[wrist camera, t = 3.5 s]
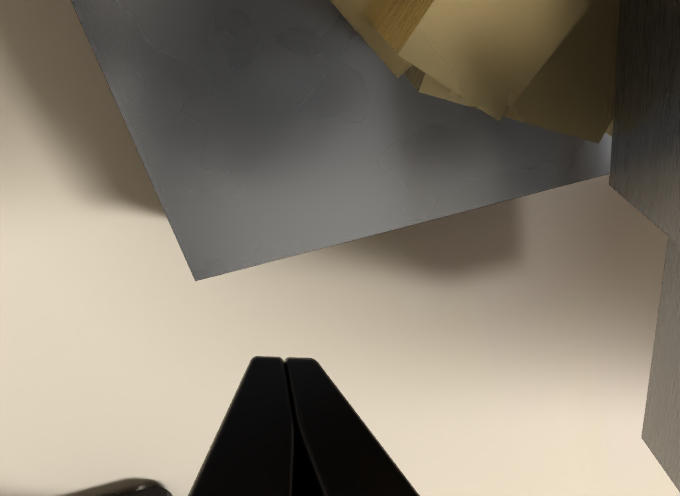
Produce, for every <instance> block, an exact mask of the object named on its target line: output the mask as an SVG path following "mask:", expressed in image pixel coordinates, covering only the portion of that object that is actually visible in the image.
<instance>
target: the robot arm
mask: <svg viewBox="0 0 680 496" xmlns="http://www.w3.org/2000/svg"><path fill="white" fill-rule="evenodd" d="M119 496H172V494H171V493H170V492H169V491H168V490H166V489H163V488H159V487H152V488H146V489H142V490H138V491H134V492H131V493H127V494H123V495H119ZM188 496H419V494H418V493H417V492H416V490H415V489H414V488H413V486H412V485H411V484H410V482H409V481H408V480H407V479H406V477H405V476H404V475H403V473H402V472H401V471H400V469H399V468H398V467H397V465H396V464H395V463H394V461H393V460H392V459H391V458H390V456H389V455H388V454H387V452H386V451H385V450H384V448H383V447H382V446H381V444H380V443H379V442H378V440H377V439H376V438H375V437H374V435H373V434H372V433H371V431H370V430H369V429H368V427H367V426H366V425H365V423H364V422H363V421H362V419H361V418H360V417H359V416H358V414H357V413H356V412H355V410H354V409H353V408H352V406H351V405H350V404H349V402H348V401H347V400H346V398H345V397H344V396H343V395H342V393H341V392H340V391H339V389H338V388H337V387H336V385H335V384H334V383H333V381H332V380H331V379H330V377H329V376H328V375H327V374H326V372H325V371H324V370H323V368H322V367H321V366H320V364H319V363H318V362H317V361H316V360H315V359H312V358H296V357H289V358H287V359H285V360H284V361H283V359H282V358H280V357H266V356H255V357H253V358H252V359H251V361H250V363H249V365H248V367H247V370H246V372H245V374H244V376H243V378H242V380H241V382H240V385H239V387H238V389H237V391H236V393H235V395H234V398H233V400H232V402H231V404H230V406H229V408H228V411H227V413H226V415H225V417H224V419H223V421H222V423H221V426H220V428H219V430H218V432H217V434H216V436H215V439H214V441H213V443H212V445H211V447H210V449H209V452H208V454H207V456H206V458H205V460H204V462H203V464H202V467H201V469H200V471H199V473H198V475H197V477H196V480H195V482H194V484H193V486H192V488H191V490H190V493H189V495H188Z"/></svg>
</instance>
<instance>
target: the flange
mask: <svg viewBox="0 0 680 496" xmlns="http://www.w3.org/2000/svg"><path fill="white" fill-rule="evenodd" d="M71 2H72V4H73V6H74V8H75V11H76V13H77V15H78V17H79V20H80V22H81V24H82V26H83V29H84V31H85V33H86V35H87V38H88V40H89V42H90V45H91V47H92V49H93V51H94V54H95V56H96V58H97V60H98V63H99V65H100V67H101V69H102V72H103V74H104V76H105V78H106V81H107V83H108V85H109V87H110V90H111V92H112V94H113V96H114V99H115V101H116V103H117V105H118V108H119V110H120V112H121V114H122V117H123V119H124V121H125V123H126V126H127V128H128V130H129V132H130V135H131V137H132V139H133V142H134V144H135V146H136V148H137V151H138V153H139V155H140V157H141V160H142V162H143V164H144V166H145V169H146V171H147V173H148V175H149V178H150V180H151V182H152V184H153V187H154V189H155V191H156V193H157V196H158V198H159V200H160V202H161V205H162V207H163V209H164V211H165V214H166V216H167V218H168V220H169V223H170V225H171V227H172V229H173V232H174V234H175V236H176V238H177V241H178V243H179V245H180V248H181V250H182V252H183V254H184V257H185V259H186V261H187V263H188V266H189V268H190V270H191V272H192V275H193V277H194V279H195V281H198V280H202V279H206V278H209V277H213V276H217V275H221V274H225V273H229V272H233V271H236V270H240V269H244V268H248V267H252V266H256V265H260V264H263V263H267V262H271V261H275V260H279V259H283V258H287V257H290V256H294V255H298V254H302V253H306V252H310V251H314V250H317V249H321V248H325V247H329V246H333V245H337V244H341V243H344V242H348V241H352V240H356V239H360V238H364V237H368V236H371V235H375V234H379V233H383V232H387V231H391V230H395V229H398V228H402V227H406V226H410V225H414V224H418V223H422V222H425V221H429V220H433V219H437V218H441V217H445V216H449V215H452V214H456V213H460V212H464V211H468V210H472V209H476V208H479V207H483V206H487V205H491V204H495V203H499V202H503V201H506V200H510V199H514V198H518V197H522V196H526V195H530V194H533V193H537V192H541V191H545V190H549V189H553V188H557V187H560V186H564V185H568V184H572V183H576V182H580V181H584V180H587V179H591V178H595V177H599V176H603V175H607V174H610V159H611V143H612V137H611V136H610V135H608V134H607V133H605V134H604V135H603V137H602V139H601V141H600V142H599V144H598V143H594V142H591V141H587V140H584V139H580V138H577V137H573V136H570V135H567V134H563V133H560V132H556V131H553V130H549V129H546V128H542V127H539V126H535V125H532V124H528V123H525V122H521V121H518V120H514V119H511V118H507V117H504V116H503V117H502V119H501V120H500V121H497V120H496V119H494V118H493V117H491V116H490V115H488V114H487V113H485V112H484V111H482V110H480V109H476V108H473V107H469V106H466V105H462V104H459V103H455V102H452V101H448V100H445V99H441V98H438V97H434V96H431V95H428V94H424V93H421V92H418V91H417V90H416V88H415V87H414V86H413V85H412V83H411V82H410V81H409V80H408V78H407V77H406V76H405V74H404V73H403V74H402V75H401V76H400V77H398V78H397V77H396V76H395V75H394V74H393V73H392V72H391V70H390V69H389V68H388V67H387V66H386V65H385V64H384V62H383V61H382V60H381V59H380V58H379V57H378V55H377V54H376V53H375V52H374V51H373V50H372V48H371V47H370V46H369V45H368V44H367V43H366V42H365V40H364V39H363V38H362V37H361V36H360V35H359V33H358V32H357V31H356V30H355V29H354V28H353V26H352V25H351V24H350V23H349V22H348V21H347V20H346V18H345V17H344V16H343V15H342V14H341V13H340V11H339V10H338V9H337V8H336V7H335V6H334V4H333V3H332V2H331V1H330V0H71Z"/></svg>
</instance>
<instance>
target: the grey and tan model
mask: <svg viewBox="0 0 680 496" xmlns="http://www.w3.org/2000/svg"><path fill="white" fill-rule="evenodd" d="M330 1H331V2H332V3H333V4H334V6H335V7H336V8H337V9H338V10H339V11H340V13H341V14H342V15H343V16H344V17H345V18H346V20H347V21H348V22H349V23H350V24H351V25H352V26H353V28H354V29H355V30H356V31H357V32H358V33H359V35H360V36H361V37H362V38H363V39H364V40H365V42H366V43H367V44H368V45H369V46H370V47H371V48H372V50H373V51H374V52H375V53H376V54H377V55H378V57H379V58H380V59H381V60H382V61H383V62H384V64H385V65H386V66H387V67H388V68H389V69H390V70H391V72H392V73H393V74H394V75H395V76H396V77H397V78H398V77H400V76H401V75H402V74H403V73H404V74H405V76H406V77H407V78H408V80H409V81H410V82H411V83H412V85H413V86H414V87H415V88H416V90H417V91H418V92H421V93H424V94H428V95H431V96H434V97H438V98H441V99H445V100H448V101H452V102H455V103H459V104H462V105H466V106H469V107H473V108H476V109H480V110H482V111H484V112H485V113H487V114H488V115H490V116H491V117H493V118H494V119H496V120H497V121H500V120H501V119H502V117H503V116H504V117H507V118H511V119H514V120H518V121H521V122H525V123H528V124H532V125H535V126H539V127H542V128H546V129H549V130H553V131H556V132H560V133H563V134H567V135H570V136H573V137H577V138H580V139H584V140H587V141H591V142H594V143H598V144H599V142H600V141H601V139H602V137H603V135H604V134H605V133H607V134H608V135H610V136H611V137H612V143H611V159H610V176H609V185H610V186H611V187H612V188H613V189H614V190H616V191H617V192H618V193H619V194H620V195H621V196H623V197H624V198H625V199H626V200H627V201H628V202H630V203H631V204H632V205H633V206H634V207H635V208H636V209H638V210H639V211H640V212H641V213H642V214H643V215H645V216H646V217H647V218H648V219H649V220H650V221H651V222H653V223H654V224H655V225H656V226H657V227H658V228H660V229H661V230H662V231H663V232H664V233H665V234H666V235H668V236H669V237H668V245H667V252H666V260H665V267H664V274H663V282H662V289H661V297H660V304H659V312H658V319H657V326H656V334H655V341H654V349H653V356H652V363H651V371H650V378H649V386H648V393H647V401H646V408H645V415H644V423H643V430H642V439H643V441H644V442H645V443H646V445H647V446H648V448H649V449H650V451H651V452H652V453H653V455H654V456H655V458H656V459H657V460H658V462H659V463H660V465H661V466H662V468H663V469H664V470H665V472H666V473H667V475H668V476H669V477H670V479H671V480H672V482H673V483H674V485H675V486H676V487H677V489H678V490H679V492H680V0H330Z"/></svg>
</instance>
